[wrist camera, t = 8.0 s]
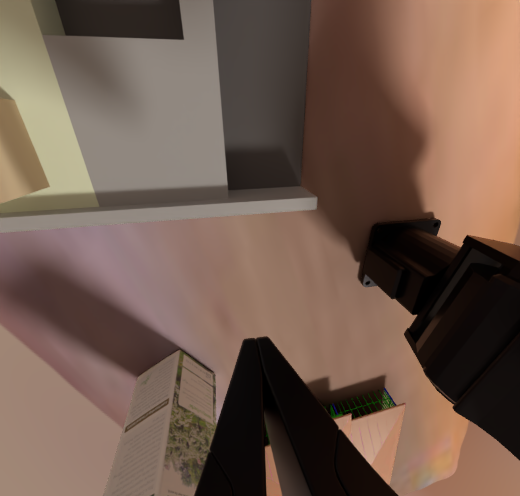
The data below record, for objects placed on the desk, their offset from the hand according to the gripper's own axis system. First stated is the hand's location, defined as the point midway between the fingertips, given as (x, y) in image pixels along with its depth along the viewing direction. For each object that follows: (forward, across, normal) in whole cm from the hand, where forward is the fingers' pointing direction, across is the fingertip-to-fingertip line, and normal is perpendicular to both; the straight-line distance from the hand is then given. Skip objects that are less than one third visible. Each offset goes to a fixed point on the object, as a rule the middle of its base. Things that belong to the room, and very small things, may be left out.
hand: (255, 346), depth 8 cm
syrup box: (+12, +7, +16) cm, 21 cm away
